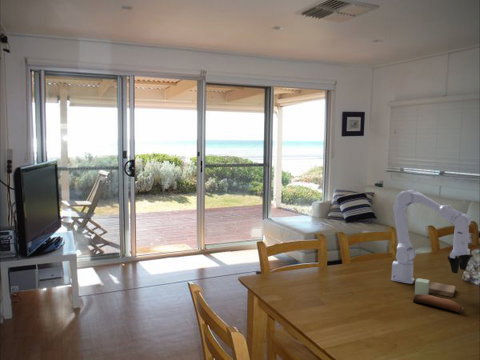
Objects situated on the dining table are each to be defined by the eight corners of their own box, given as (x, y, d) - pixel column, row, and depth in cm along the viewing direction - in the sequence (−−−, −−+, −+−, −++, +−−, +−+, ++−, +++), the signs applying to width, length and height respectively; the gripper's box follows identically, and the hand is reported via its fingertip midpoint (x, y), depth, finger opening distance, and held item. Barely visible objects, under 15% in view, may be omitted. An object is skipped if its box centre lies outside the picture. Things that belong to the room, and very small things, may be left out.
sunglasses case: (465, 307, 167) (464, 296, 164) (461, 321, 163) (459, 309, 160) (419, 296, 179) (417, 286, 176) (414, 309, 174) (412, 298, 171)
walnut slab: (427, 292, 184) (428, 288, 184) (431, 285, 193) (431, 281, 192) (452, 297, 179) (453, 292, 179) (455, 290, 187) (455, 286, 187)
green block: (414, 294, 182) (415, 281, 182) (416, 290, 186) (417, 277, 186) (426, 296, 179) (427, 283, 179) (428, 293, 184) (429, 280, 183)
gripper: (462, 245, 175) (460, 276, 176) (477, 240, 183) (475, 270, 185) (445, 242, 180) (443, 272, 182) (461, 237, 189) (459, 266, 190)
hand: (458, 271), depth 184 cm, fingers open, 7 cm apart
